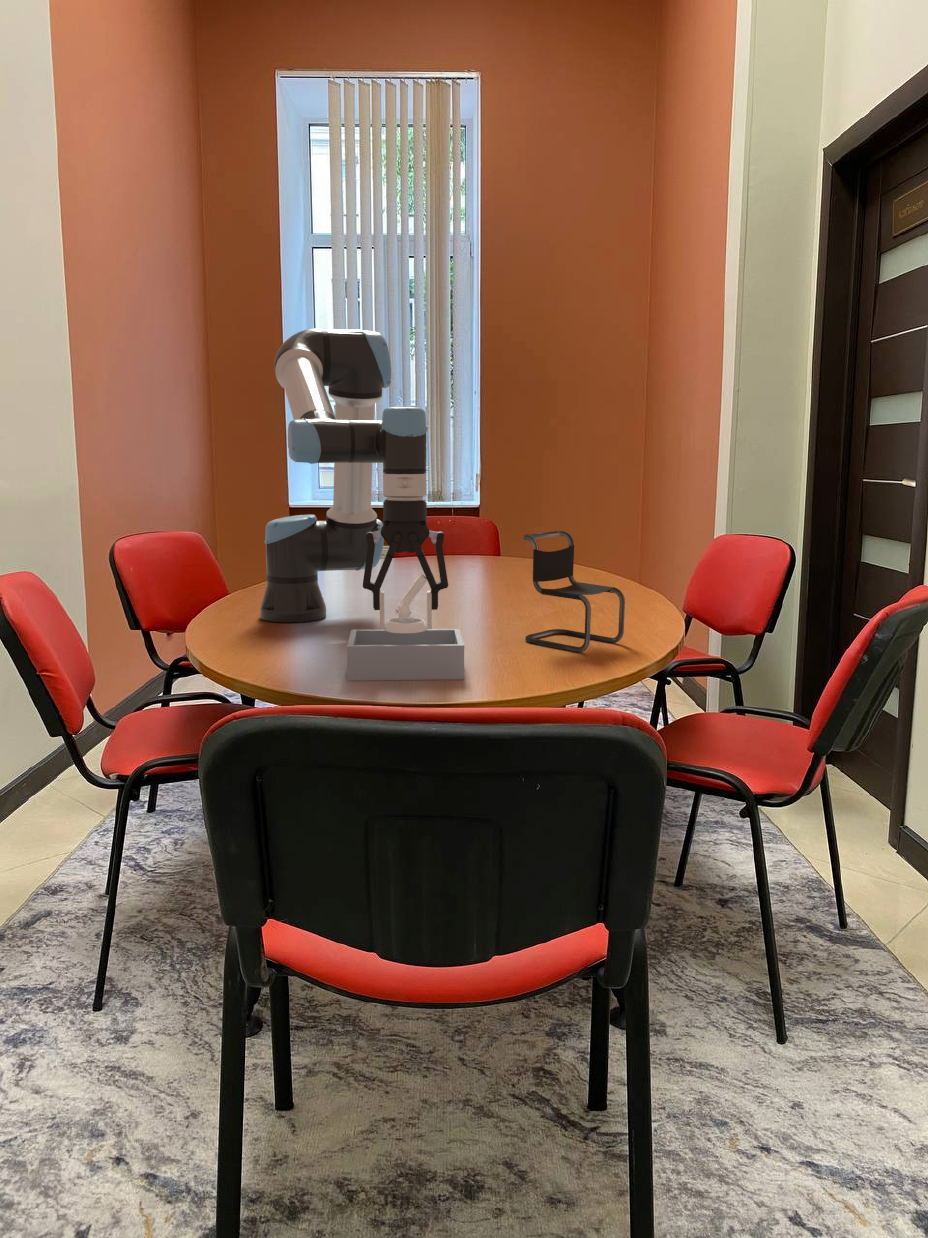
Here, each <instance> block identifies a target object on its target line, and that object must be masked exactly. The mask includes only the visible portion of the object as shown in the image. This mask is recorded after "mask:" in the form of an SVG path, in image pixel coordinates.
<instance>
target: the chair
mask: <svg viewBox="0 0 928 1238" xmlns="http://www.w3.org/2000/svg"><path fill="white" fill-rule="evenodd" d="M553 537H564V538H566V540H567V542H568V547H566V548H563V549H560V550H553V551H551V550H550V551H543V550H540V549H539V542H537V539H544V538H553ZM523 540H524V541H528V542H530V543H531V545H532V547H533V552H532V557H533V558H532V584H533V586H534V588H535V590H536V591H537V592H538V593H539V594H541V595H544V596H551V597H557V598H565V599H570V600H577V601H578V600H579V601H581V602H582V604H584V607H585V608H584V609H585V610H584V611H585V612H584V613H585V614H584V632H583V631H582V632H581V631H576V630H575V631H574V630H569V629H564V628H561V629H560V628H556V629H555V628H554V629H547V630H544V631H540V632H536V633H531V634H530V633H529V634H528V635H526V636H525V637H524V638H525V641H526V642H527V643H529V644H533V645H539V646H543V647H549V648H554V649H559V650H563V649H566V650H565V651H568V650H570V651H569V652H573V651H575V652H574V653H583V652H585V651H586V650H587V649H588V648H589V646H590V642H591V640H593V641H597V642H605V643H610V644H616V643H619V642H620V641H621V640H622V638H623V636H624V632H625V607H626V600H625V599H626V598H625V596H624V593H623V592H622V591H621V589H618V588H617V587H615V586H614V587H613V586H607V585H601V584H595V583H594V584H593V583H586V582H581V581H580V582H579V581H577V580H576V579H575V577H574V563H575V562H574V560H575V558H574V557H575V543H574V538H573V536H572V535H571V534H570V533H569V532H567V531H565V530H564V531H563V530H557V531H555V530H554V531H548V532H547V531H546V532H536V533H527V534H524V535H523ZM566 578H568V580H569V583H570V585H568V586H563V587H559V588H542V587H541V585H540V582H552V581H558V580H562V579H566ZM602 593H609V594H610V593H612V594H615V595H616V596H617V597H618V601H619V606H618V607H619V609H618V610H619V611H618V633H617V635H616V636H615V637H611V636H610V637H609V636H603V635H597V634H592V633H591V623H592V621H591V619H592V608H591V607H592V606H591V603H590V601H589V598H587V597H586V596H592V595H600V594H602ZM552 635H566V636H571V637H577V638H582V639H584V641H583V644H582V645H581V646H575V645H570V644H565V643H560V642H554V641H551V640H550V641H549V640H544V639H540V638H542V637H547V636H552Z"/></svg>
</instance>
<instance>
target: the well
mask: <svg viewBox="0 0 928 1238" xmlns="http://www.w3.org/2000/svg"><path fill="white" fill-rule="evenodd" d="M346 657H347V658H346V661H347V665H346V669H347V681H349V682H350V681H353V682H355V681H358V682H360V681H425V680H427V681H432V680H435V681H436V680H438V681H439V680H440V681H442V680H446V681H447V680H465V643H464V640H463V637H462V633H461V630H460V629H459V628H432V629H427V630H426V631H423V632H419V633H392V632H388V631H385V630H380V629H351V630H350V634H349V638H348V641H347V645H346Z"/></svg>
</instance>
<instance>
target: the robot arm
mask: <svg viewBox="0 0 928 1238" xmlns="http://www.w3.org/2000/svg"><path fill="white" fill-rule="evenodd" d="M273 363H274V364H273V366H274V369H273V370H274V373H275V374H274V375H275V378H276V380H277V382H278V383H279V385H280V386H281V388H282V389H284V390H285V391H284V392H285V395H286V397H287V401H288V404H289V409H290V413H291V415H292V416H291V417H292V418H293V420H291V421H289V423H288V427H287V448H288V455H289V458H290V459H291V460H292V461H293V462H294V463H304V464H305V463H308V464H310V465H313V464H333V468H334V469H333V495H332V496H333V500H332V501H333V503H332V506H331V507H330V508H329V509H328V510H327V511H326V514H325V515H326V517H325V518H326V520H318V518H317V516H316V515H315V514H309V513H308V514H300V515H299V514H296V515H290V516H283V517H280V518H276V519H272V520H270V521H268V522H267V524H266V525H265V533H264V535H265V537H264V539H265V540H264V541H263V542H264V544H265V563H266V564H265V565H266V566H265V567H266V568H265V569H266V572H265V573H266V586H265V590H264V594H263V596H262V597H263V598H262V600H261V604H260V607H259V613H260V614H259V617H260V619H261V620H264V621H267V622H273V623H306V622H312V621H313V622H314V621H318V620H321V619H324V618H326V617H327V606H326V602H325V600H324V597H323V595H322V592H321V588H320V586H319V579H318V578H319V577H318V576H319V575H318V572H327V571H329V572H330V571H361V570H364V572H363V579H362V588H363V589H365V590H367V591H371V593H372V608H373V610H374V611H379V630H384V628H385V625H386V623H385V590H381V588H382V586H383V583H384V581H385V578H386V575H387V574H388V571H389V568H390V566H391V563H392V562H393V558H394V557H395V553H399V554H400V553H405V552H406V553H410V554H412V553H413V554H414V553H415V555H416V557H417V559H418V562H419V563H420V566H421V569H422V571H423V573H424V574H423V575H424V576H425V577H426V579H427V581H426V582H427V583H428V585H429V588H430V590H429V589H428V590H426V626H427V629H433V627H432V624H433V623H432V622H433V621H432V617H433V611H435V610H438V608H439V592H440V591H441V590H444V589H447V588H449V580H448V575H447V569H446V568H447V567H446V562H445V561H446V560H445V555H444V554H445V553H444V548H443V544H444V538H445V534H444V532H443V531H433V530H430V529H429V527H428V524H427V521H428V520H427V517H428V515H427V513H428V512H427V508H428V507H427V501H426V499H424V498H425V497H426V496H427V489H428V488H427V487H428V486H427V483H428V482H427V433H428V432H427V431H428V426H427V415H426V411H425V409H423V408H421V407H415V406H413V407H412V406H409V407H408V406H407V407H405V406H401V407H400V406H391V407H386V408H384V409H383V410H382V416H381V417H382V418H381V420H375V405H376V403H377V402H378V401H379V400H381V399H382V397H383V389H387V388H389V387H390V385H391V383H392V382H391V380H392V364H391V363H392V362H391V356H390V350H389V346H388V343H387V341H386V339H385V337H384V335H382V333H380V332H378V331H373V330H366V329H365V330H363V329H340V328H339V329H336V328H334V329H332V328H329V329H328V328H327V329H325V328H308V329H304V330H301V331H298V332H296V333H294V334H293V335H291V336H289V338H287V339H286V340H285V341H284V342H282V344H281V346H280V347H279V348H278V350H277V352H276V354H275V357H274V362H273ZM326 387H328V391H327V390H326ZM328 395H329V396H328ZM330 397H331V399H333V400H334V403H335V405H334V406H335V409H333V407H332V404H331V402H330ZM334 411H335V412H334ZM373 464H382V495H383V497H385V500H384V501H383V502H382V506H383V507H382V508H383V511H382V512H383V514H382V515H383V517H382V518H383V519H382V521H383V522H382V521H381V520H380V519H378V514H377V512H376V511H375V510H374V509H373V508H372V486H373V485H372V483H373ZM429 537H430V540H431V543H432V544H434V545H435V549H434V550H435V554H436V560H437V567H438V573H439V579H440V581H436V580H435V577H434V574H433V571H432V570H431V568H430V564H429V563H428V560H427V558H426V556H425V553H424V550H423V548H422V545H423V544H424V543H425V541H426V540H427V539H428V538H429ZM384 542H385V543H386V544H387V545H388V550H387V551H386V554H385V557H384V559H383V562H382V565H381V567H380V569H379V572H378V574H377V577H376V579H375V581H374V582H372V581H371V578H372V570H373V569H374V568H375V567H376V566H377V565H378V564H379V562H380V560H381V558H382V554H383V551H384ZM432 610H433V611H432Z"/></svg>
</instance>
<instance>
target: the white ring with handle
mask: <svg viewBox="0 0 928 1238" xmlns="http://www.w3.org/2000/svg"><path fill="white" fill-rule="evenodd" d="M427 582H428V581H427V578H426V576H425V574H422V573H421V574H419V575H418V576H417V577H416V579H415V581H414V582H413V583H412V585H411V586H410V587H409V588H408V590H407V591H406V592H405V594H404V595H403V597H402V598H401V599H400V601H399V602H398V604H397V608H395V614H396V615H397V614H398V617H392V618H388V620H387V621H386V623H385V628H384V630H385V631H388V632H392V633H419V632H423V631H426V630H427V622H425V620H424V619H423V618H420V617H415V616H411V614H412V611H411V609H410V607H411V606H410V605H411V603H412V602H413V601H414V599H415V598H416V596H417V595H418V594H419V593H420V591H421V590H422V589H423V587H424V586H425V584H426V583H427Z"/></svg>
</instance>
